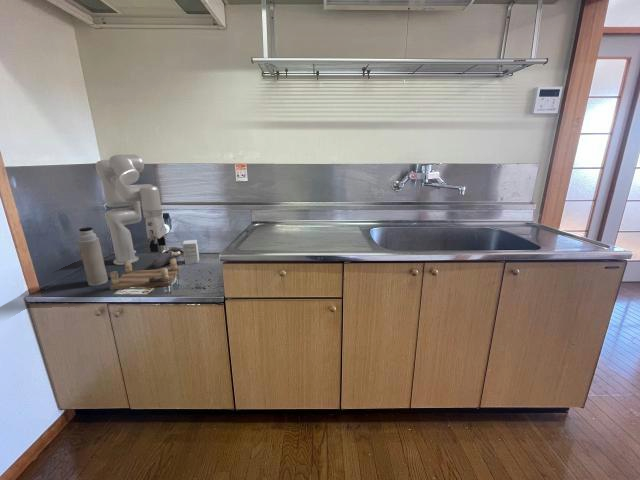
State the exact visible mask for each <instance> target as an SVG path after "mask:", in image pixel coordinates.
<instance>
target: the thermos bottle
mask: <svg viewBox="0 0 640 480" xmlns="http://www.w3.org/2000/svg"><path fill="white" fill-rule="evenodd" d="M77 237H78V240H77V245H78V249H79V253H80V256H81V261H82V264H83V268H84V273H85V277H86V281H87V284H88V286H92V287H93V286H94V287H95V286H96V287H97V286H101V285H104V284H106V283H107V282H109V279H108V273H107V269H106V266H105V261H104V260H105V259H104V257H103V256H104V255H103V252H102V247H101V243H100V239H99V237H98V236H97V234H96V233H94V230H93V227H88V226H87V227H82V228H79V235H78V236H77Z"/></svg>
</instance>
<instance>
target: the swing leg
mask: <svg viewBox="0 0 640 480" xmlns="http://www.w3.org/2000/svg"><path fill="white" fill-rule="evenodd" d="M167 269H168V267H160V274H161V278H154V277H151V278H149V282H157V281H163V282H165V281H168V280H169V276H168V270H167Z"/></svg>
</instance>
